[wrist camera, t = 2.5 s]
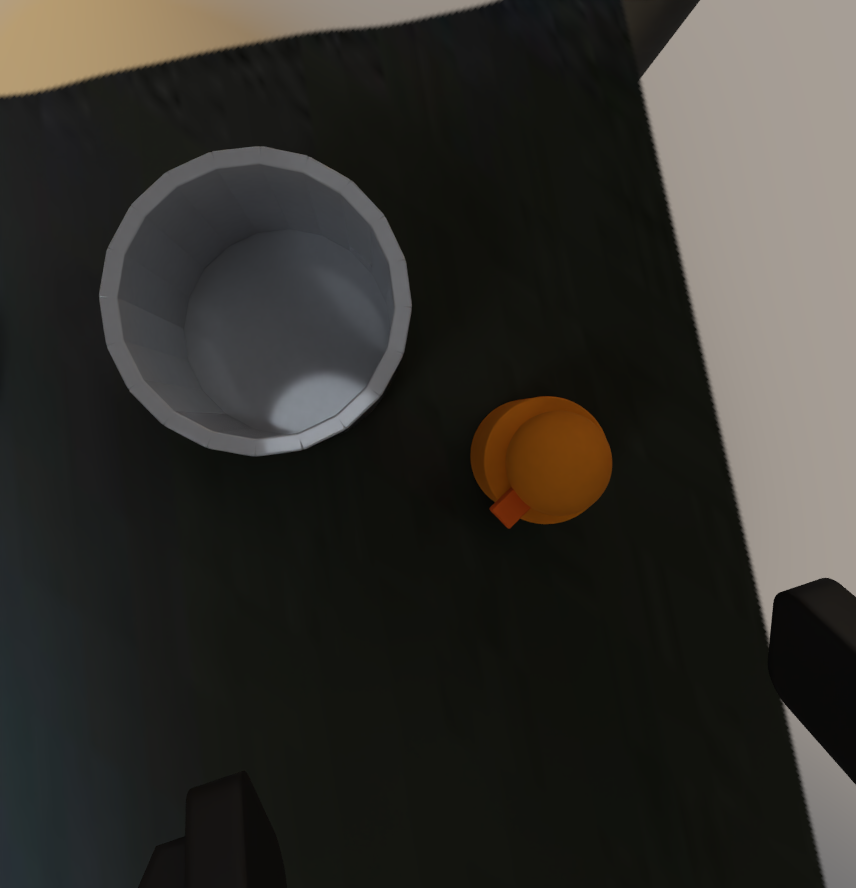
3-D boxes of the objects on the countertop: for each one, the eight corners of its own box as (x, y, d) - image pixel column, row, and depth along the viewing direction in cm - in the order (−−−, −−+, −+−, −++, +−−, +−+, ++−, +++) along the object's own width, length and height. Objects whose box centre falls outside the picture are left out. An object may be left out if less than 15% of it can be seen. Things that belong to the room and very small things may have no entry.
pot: (292, 172, 34) (261, 82, 25) (448, 338, 34) (472, 309, 25) (126, 328, 33) (33, 294, 24) (286, 492, 34) (253, 517, 25)
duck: (527, 376, 35) (574, 362, 26) (603, 457, 35) (673, 468, 27) (439, 461, 34) (458, 473, 26) (515, 541, 35) (558, 579, 26)
